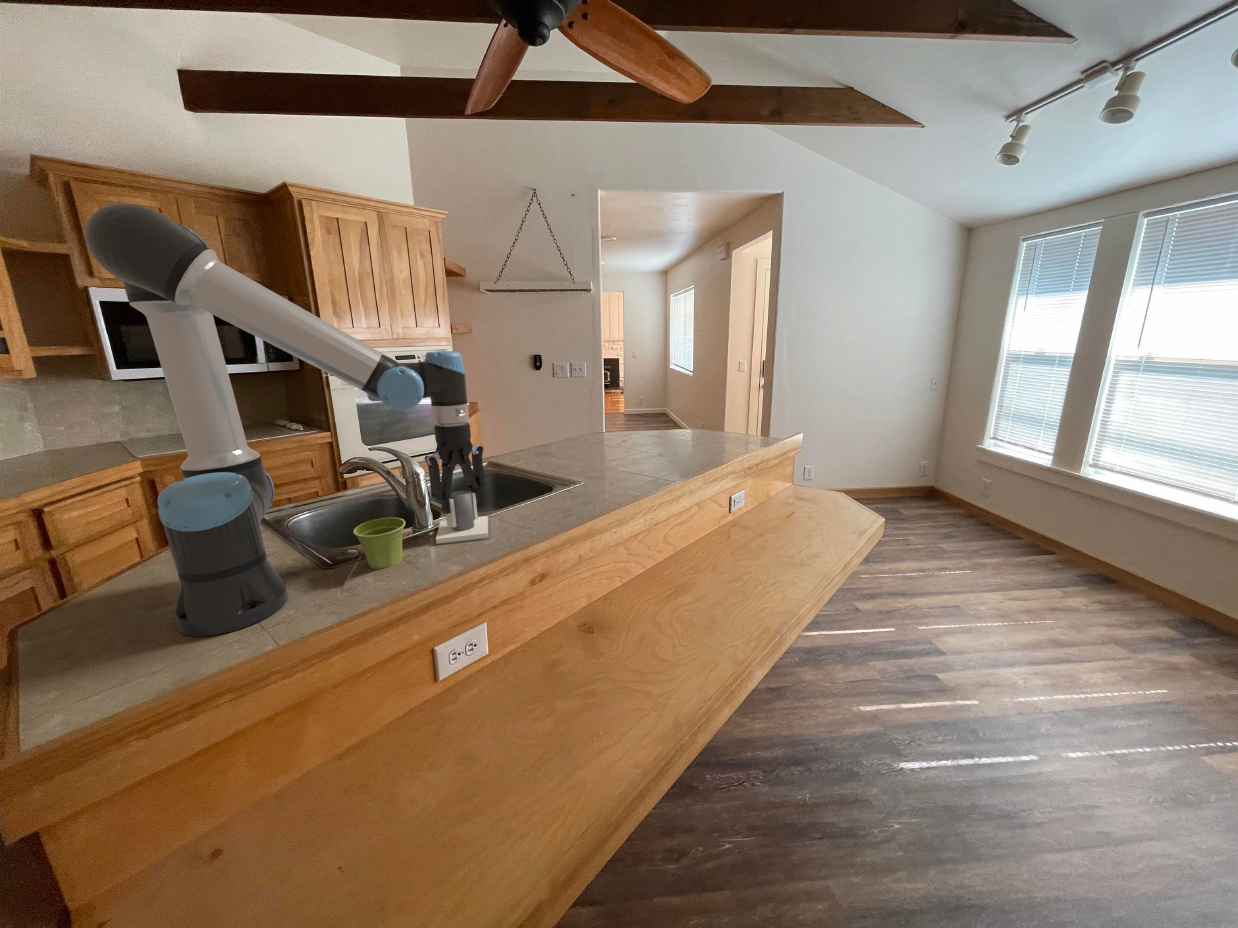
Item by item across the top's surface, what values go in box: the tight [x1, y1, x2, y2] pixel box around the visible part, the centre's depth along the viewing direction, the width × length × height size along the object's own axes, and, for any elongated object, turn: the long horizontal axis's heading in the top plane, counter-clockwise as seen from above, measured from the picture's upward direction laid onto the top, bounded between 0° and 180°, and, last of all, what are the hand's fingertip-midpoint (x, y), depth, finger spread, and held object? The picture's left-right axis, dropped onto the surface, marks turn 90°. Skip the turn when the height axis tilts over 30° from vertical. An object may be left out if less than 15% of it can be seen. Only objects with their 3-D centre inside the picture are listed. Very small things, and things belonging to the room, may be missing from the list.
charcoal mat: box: [434, 519, 492, 547], centre depth 113 cm, size 12×12×1 cm
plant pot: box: [353, 516, 406, 570], centre depth 98 cm, size 9×9×9 cm
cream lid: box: [435, 490, 489, 544], centre depth 111 cm, size 11×11×9 cm
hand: (462, 521), depth 112 cm, fingers closed on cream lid, 5 cm apart
